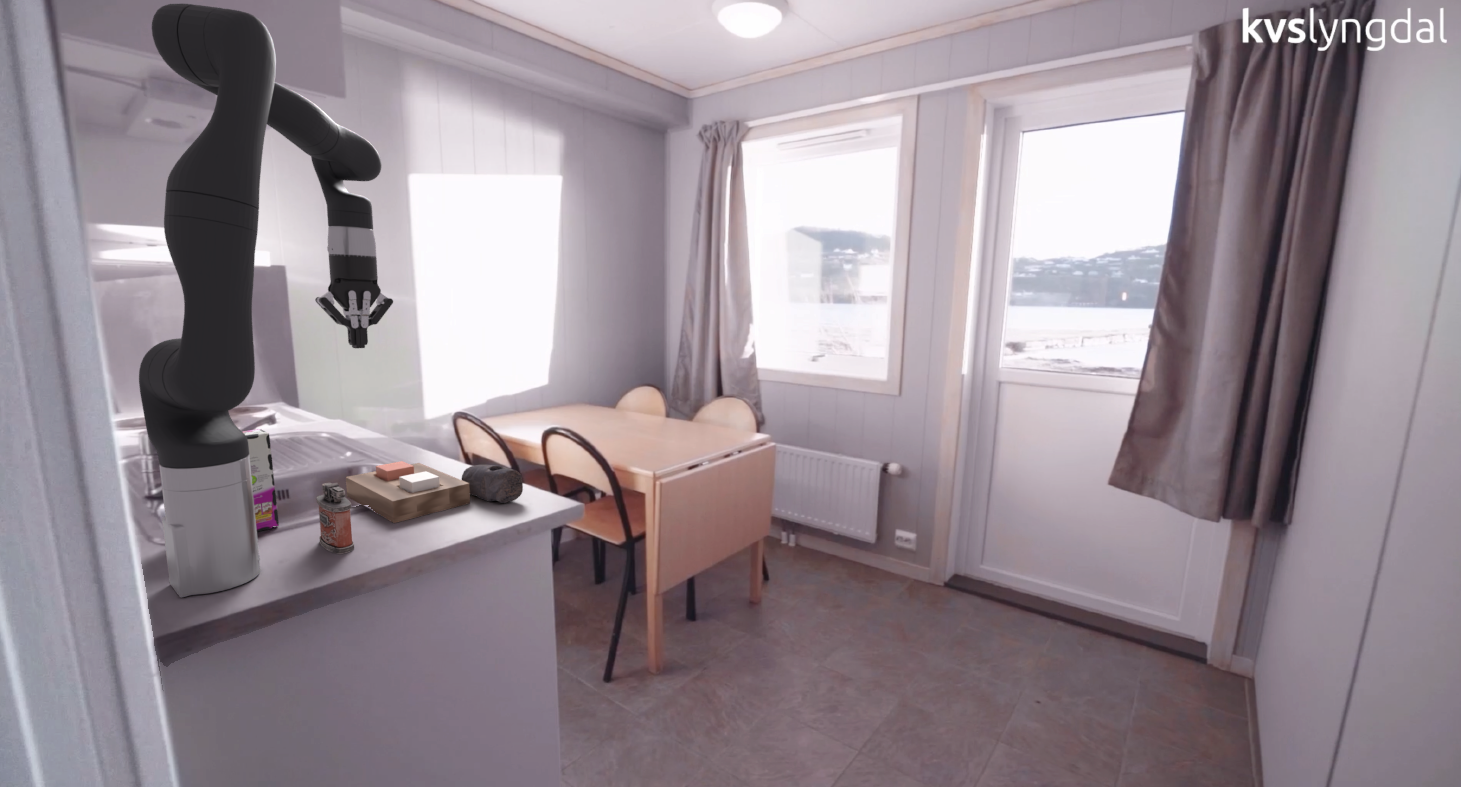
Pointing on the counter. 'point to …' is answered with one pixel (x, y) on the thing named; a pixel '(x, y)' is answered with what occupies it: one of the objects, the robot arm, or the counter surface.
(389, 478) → the salmon pink block
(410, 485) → the key white
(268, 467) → the candy bar box
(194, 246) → the robot arm
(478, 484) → the perforated stone tool
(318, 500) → the lighter
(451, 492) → the frame
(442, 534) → the counter surface
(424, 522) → the counter surface
